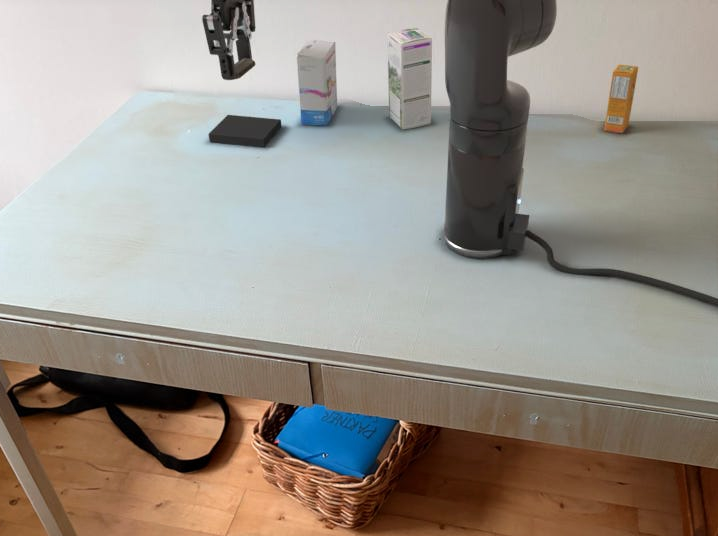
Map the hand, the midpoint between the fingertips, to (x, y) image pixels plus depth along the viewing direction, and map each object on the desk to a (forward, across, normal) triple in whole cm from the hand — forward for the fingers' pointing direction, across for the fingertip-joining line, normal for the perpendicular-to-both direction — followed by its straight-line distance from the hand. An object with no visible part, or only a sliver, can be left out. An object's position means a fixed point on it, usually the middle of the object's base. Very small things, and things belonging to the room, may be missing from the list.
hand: (237, 70), depth 121 cm
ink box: (+11, +10, -10) cm, 18 cm away
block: (+1, 0, 0) cm, 1 cm away
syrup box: (+11, +11, -26) cm, 30 cm away
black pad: (+11, 0, 0) cm, 11 cm away
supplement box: (+11, +15, -60) cm, 63 cm away
